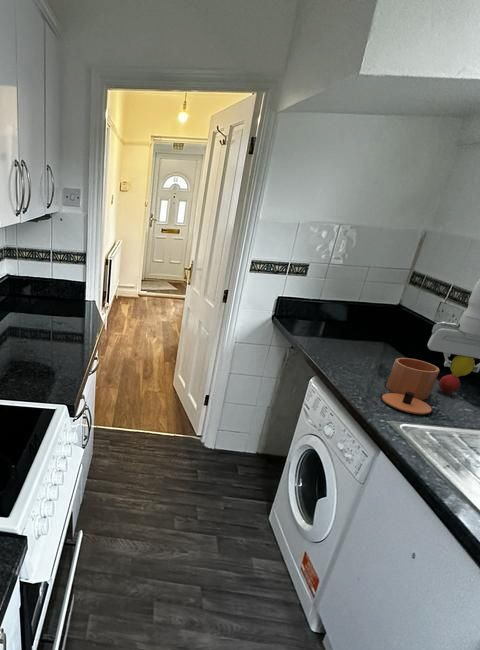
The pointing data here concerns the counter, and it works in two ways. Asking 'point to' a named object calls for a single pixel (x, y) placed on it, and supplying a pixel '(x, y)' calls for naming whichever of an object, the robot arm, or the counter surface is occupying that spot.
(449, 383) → the onion
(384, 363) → the counter surface
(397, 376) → the pot
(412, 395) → the lid
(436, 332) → the robot arm
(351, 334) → the counter surface
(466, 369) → the lemon
